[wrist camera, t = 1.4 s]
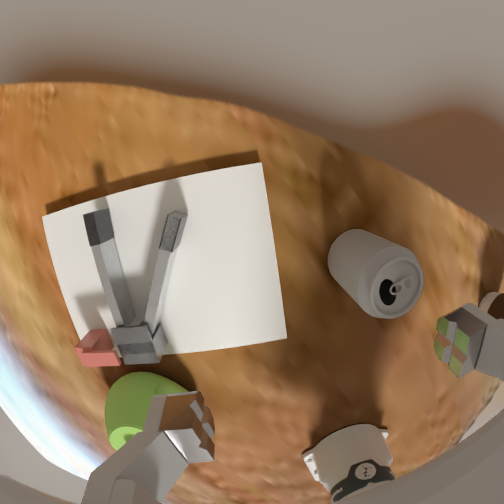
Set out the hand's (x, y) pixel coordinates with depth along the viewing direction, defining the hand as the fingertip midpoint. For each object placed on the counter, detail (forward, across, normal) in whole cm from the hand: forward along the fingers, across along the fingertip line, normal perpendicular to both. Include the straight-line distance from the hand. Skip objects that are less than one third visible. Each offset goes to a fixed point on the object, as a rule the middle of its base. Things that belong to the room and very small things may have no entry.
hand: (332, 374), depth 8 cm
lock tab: (+24, +23, +10) cm, 35 cm away
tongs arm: (+24, +11, +2) cm, 27 cm away
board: (+26, +14, +3) cm, 30 cm away
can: (+26, -11, +7) cm, 29 cm away
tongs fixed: (+25, +17, +3) cm, 30 cm away
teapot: (+26, +21, +23) cm, 40 cm away
